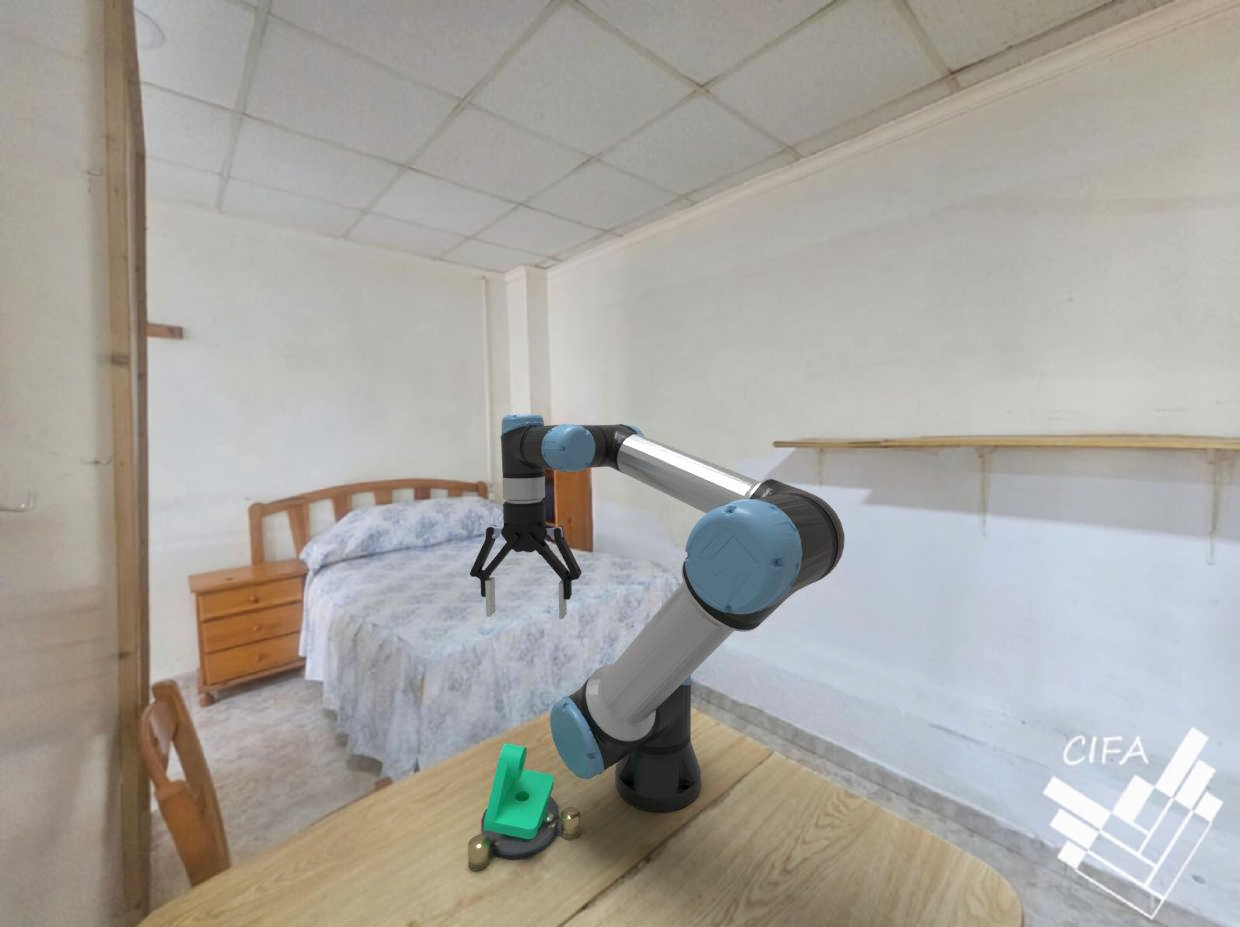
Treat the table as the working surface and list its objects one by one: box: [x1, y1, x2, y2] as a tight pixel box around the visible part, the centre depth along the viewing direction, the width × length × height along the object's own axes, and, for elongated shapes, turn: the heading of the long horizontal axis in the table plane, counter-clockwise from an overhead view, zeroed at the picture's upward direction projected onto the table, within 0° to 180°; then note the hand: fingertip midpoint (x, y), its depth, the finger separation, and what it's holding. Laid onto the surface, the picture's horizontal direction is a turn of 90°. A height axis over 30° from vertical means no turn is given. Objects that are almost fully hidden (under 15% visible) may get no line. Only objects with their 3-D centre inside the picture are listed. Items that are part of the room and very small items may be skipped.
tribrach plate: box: [467, 795, 581, 872], centre depth 81 cm, size 16×17×3 cm
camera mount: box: [484, 742, 555, 839], centre depth 81 cm, size 12×8×10 cm, turn 173°
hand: (526, 615), depth 95 cm, fingers open, 13 cm apart
